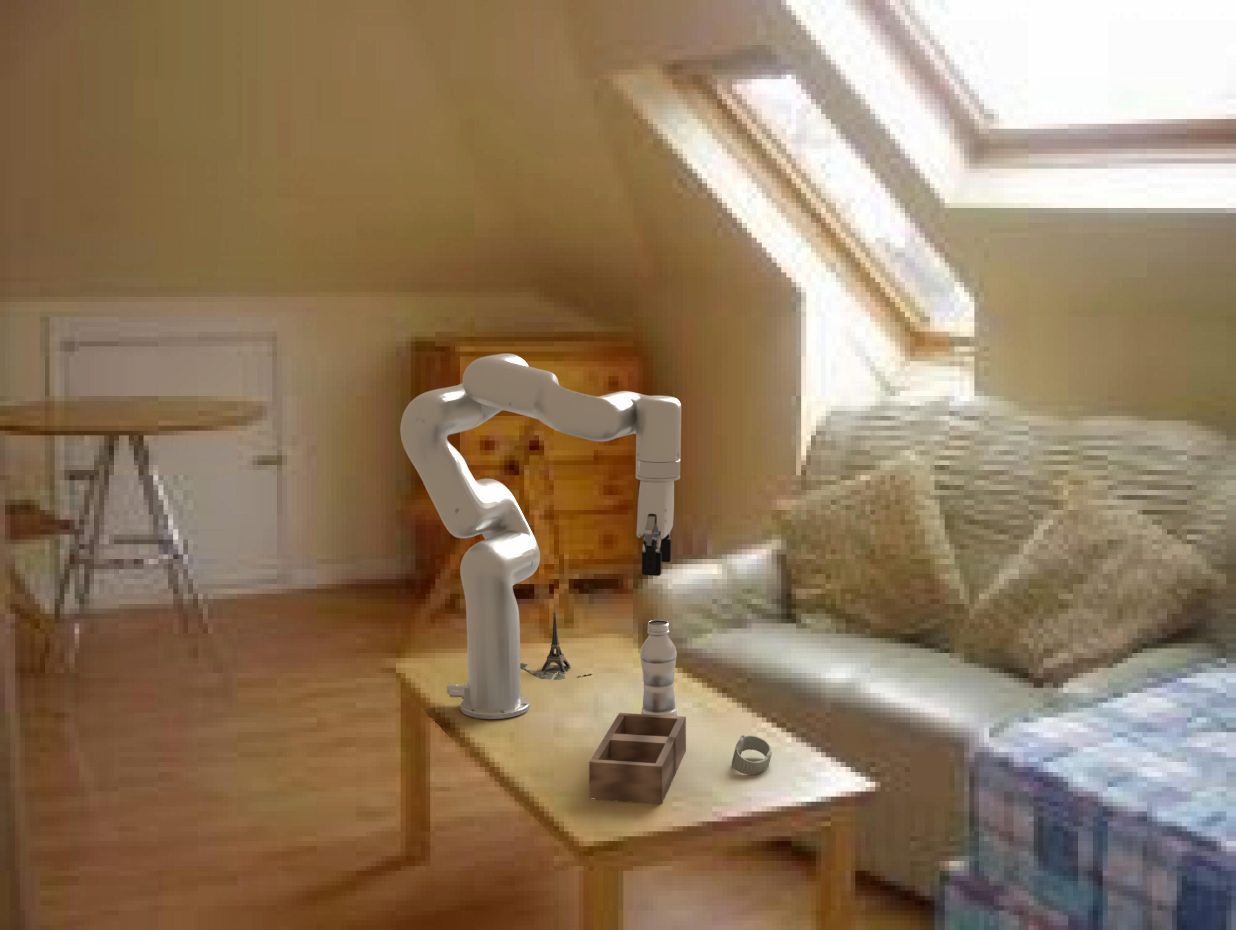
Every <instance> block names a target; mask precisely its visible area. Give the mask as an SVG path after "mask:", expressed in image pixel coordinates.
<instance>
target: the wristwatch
mask: <svg viewBox="0 0 1236 930" xmlns="http://www.w3.org/2000/svg"><path fill="white" fill-rule="evenodd" d="M771 748H772V747H771V745H770V744H769V742H768V741H766V740H765V739H764V738H761V737H759V736H755V735H744V734H741V736H740V737H739V739H738V740H737V742H736V744H735V748H734V752H733V756H732V760H731V766H732V768H733V769H734V770H735V771H736V772H738V773H740V774H743V775H748V776H751V775H758V774H760V773H762V772H764V771H765V770H766V769H767V768H768V767H769V766H770V763H771V762H770V761H771V759H772V754H773V751H771ZM744 751H756V752H759V753H761V754H762V755H763V756H764V758H762V759H761V760H757V761H750V760H748V759H746V758H744V757H742V752H744Z"/></svg>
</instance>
